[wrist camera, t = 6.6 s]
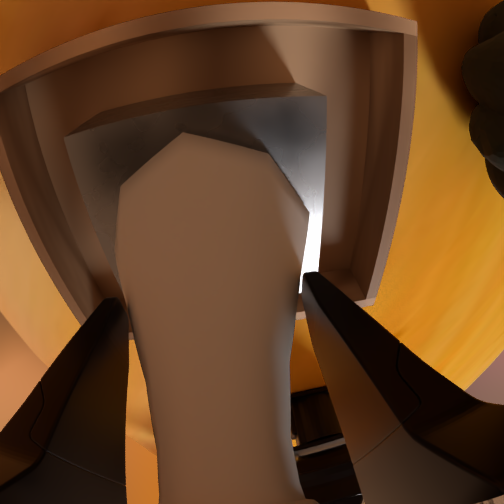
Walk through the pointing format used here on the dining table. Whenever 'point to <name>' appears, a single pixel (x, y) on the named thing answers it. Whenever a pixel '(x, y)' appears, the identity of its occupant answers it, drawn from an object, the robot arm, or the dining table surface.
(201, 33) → the brown tray
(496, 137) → the squash
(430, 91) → the dining table surface
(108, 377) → the robot arm
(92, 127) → the block
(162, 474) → the flask
